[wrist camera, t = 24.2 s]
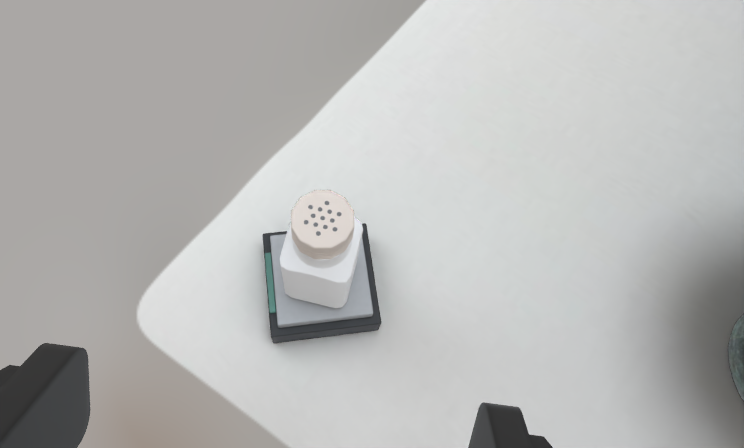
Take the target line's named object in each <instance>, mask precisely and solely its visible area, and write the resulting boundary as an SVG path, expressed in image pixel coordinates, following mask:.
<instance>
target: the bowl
mask: <svg viewBox="0 0 744 448" xmlns="http://www.w3.org/2000/svg"><path fill="white" fill-rule="evenodd" d="M728 356H729V365H730V369H731V373H732V378H733V380H734V383H735V385H736V388H737V390H738V392H739V394H740V396H741V397H742V399H743V401H744V314H743V315H742V316H741V317H740V318H739V320H738V321H737V322H736V323H735V326H734V328H733V330H732V333H731V337H730V341H729V346H728Z"/></svg>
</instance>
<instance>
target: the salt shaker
mask: <svg viewBox="0 0 744 448" xmlns="http://www.w3.org/2000/svg"><path fill="white" fill-rule="evenodd" d="M362 233H363V226H362V223H361V222H360V221H359V220H358V219H357V218H356V217H354V210H353V209H352V207H351V206H350V204H349V203H348V201H347V200H346V198H345V197H343V196H341V195H339V194H337V193H335V192H333V191H331V190H314V191H312V192H310V193H308V194H306V195H304V196H302V197H300V198H299V200H298V201H297V203H296V204H295V206H294V207H293V209H292V210H291V222H290V225H289V228H288V231H287V234H286V237H285V241H284V244H283V248H282V251H281V255H280V266H281V272H282V278H283V283H284V289H285V293H286V294H287V295H288V296H290V297H291V298H295V299H299V300H303V301H307V302H311V303H315V304H320V305H324V306H328V307H332V308H341V307H343V306H344V305H345V303H346V302H347V299H348V295H349V291H350V287H351V283H352V279H353V275H354V271H355V267H356V263H357V259H358V254H359V249H360V243H361V238H362Z"/></svg>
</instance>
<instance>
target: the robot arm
mask: <svg viewBox="0 0 744 448" xmlns="http://www.w3.org/2000/svg"><path fill="white" fill-rule="evenodd" d="M89 416H90V395H89V371H88V355H87V352H86V350H85V349H84V348H79V347H71V346H63V345H56V344H49V343H44V344H42V345H40V346H39V347H38V348H37V349H36V350H35V351H34V353H33V354H32V355H31V356H30V357H29V358H28V359H27V360H26V361H25V362H24V363H23V364H22V365H21V366H12V365H9V366H7V367H6V368H3V369H2V370H0V448H77V447H78V445H79V444H80V442H81V440H82V438H83V436H84V434H85V432H86V429H87V425H88V421H89ZM468 448H553V447H552V446H551V445H550V444H549V442H548V441H547V440H546V439H545V438H544V437H543V436H535V435H529V434H528V430H527V427H526V424H525V421H524V418H523V415H522V412H521V410H520V408H519V407H513V406H506V405H498V404H491V403H482V404H481V405H480V407H479V410H478V413H477V417H476V421H475V425H474V428H473V432H472V436H471V440H470V443H469V447H468Z"/></svg>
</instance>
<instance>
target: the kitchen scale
mask: <svg viewBox="0 0 744 448" xmlns="http://www.w3.org/2000/svg"><path fill="white" fill-rule="evenodd" d="M362 226H363V233H362V238H361V243H360V249H359V254H358V259H357V263H356V267H355V271H354V275H353V279H352V283H351V287H350V291H349V295H348V299H347V302H346V303H345V305H344V306H343V307H341V308H332V307H328V306H324V305H320V304H315V303H311V302H307V301H303V300H299V299H295V298H291V297H290V296H288V295H287V294H286V293H285V289H284V283H283V278H282V272H281V266H280V255H281V251H282V248H283V244H284V241H285V237H286V234H287V231H286V232H276V233H266V234H263V245H264V257H265V269H266V281H267V293H268V305H269V318H270V330H271V338H272V341H273V343H279V342H287V341H295V340H303V339H311V338H319V337H327V336H335V335H343V334H351V333H358V332H366V331H374V330H378V329H379V327H380V324H381V319H380V312H379V306H378V299H377V292H376V286H375V279H374V273H373V266H372V259H371V253H370V246H369V240H368V233H367V226H366V224H362Z"/></svg>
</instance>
